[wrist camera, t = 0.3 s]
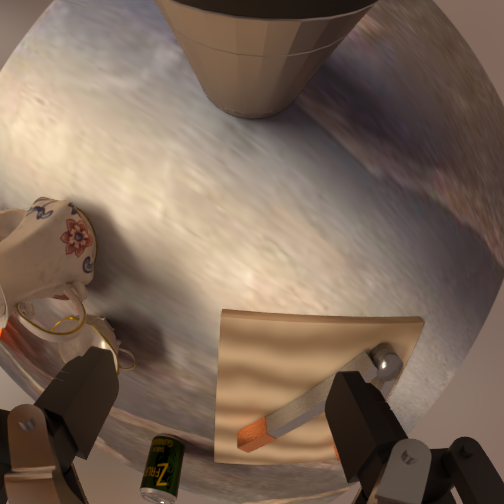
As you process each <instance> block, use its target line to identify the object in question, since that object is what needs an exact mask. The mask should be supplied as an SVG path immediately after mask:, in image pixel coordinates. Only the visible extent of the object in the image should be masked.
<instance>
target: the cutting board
mask: <svg viewBox="0 0 504 504" xmlns="http://www.w3.org/2000/svg"><path fill="white" fill-rule="evenodd" d="M424 323H425V322H424V321H423V320H422V319H421V318H420V317H342V316H313V315H293V314H277V313H263V312H250V311H238V310H227V309H222V313H221V325H220V340H219V357H218V375H217V395H216V418H215V447H214V462H218V463H231V464H295V463H309V462H319V461H328V460H335V459H337V458H336V454H335V451H334V448H333V447H334V446H335V443H334V440H333V437H332V434H331V431H330V428H329V425H328V422H327V419H326V416H325V412H323V413H322V414H320V415H318V416H317V417H315V418H313V419H312V420H310V421H308V422H307V423H305V424H303V425H301V426H300V427H298V428H296V429H294V430H292V431H290V432H288V433H287V434H285V435H283V436H281V437H279V438H277V440H275V441H273V442H271V443H269V444H267V445H265V446H263V447H261V448H258V449H256V450H254V451H252V452H249V453H247V452H244V451H242V450H240V449H238V448H237V431H239V430H241V429H243V428H245V427H246V426H248V425H250V424H252V423H254V422H256V421H258V420H259V419H261V418H263V417H267V416H269V415H270V414H272V413H274V412H276V411H277V410H279V409H281V408H282V407H284V406H286V405H287V404H289V403H291V402H292V401H294V400H295V399H297V398H299V397H300V396H302V395H303V394H305V393H306V392H308V391H309V390H311V389H312V388H314V387H315V386H317V385H318V384H320V383H321V382H323V381H324V380H326V379H327V378H328V377H330V376H331V375H333V374H334V373H335V372H337V371H338V370H340V369H341V368H342V367H344V366H345V365H346V364H348V363H349V362H350V361H352V360H353V359H354V358H355V357H357V356H358V355H359V354H360V353H362V352H363V351H364V350H365V351H366V352H367V353H368V354H369V353H370V352H371V350H372V349H373V348H374V347H376V346H377V345H379V344H382V343H388V344H390V345H391V346H392V348H393V349H394V350H395V352H396V353H397V355H398V356H399V357H400V359H401V360H402V361H403V368H402V370H401V372H400V373H399V374H398V375H397V376H396V379H397V382H398V380H399V378H400V376H401V374H402V372H403V370H404V368H405V366H406V364H407V362H408V360H409V358H410V355H411V353H412V351H413V349H414V347H415V344H416V342H417V340H418V337H419V335H420V333H421V330H422V328H423V325H424ZM370 381H371V380H370ZM370 381H369V382H368V383H370ZM397 382H396V383H395V385H396V384H397ZM395 385H394V387H395ZM394 387H393V389H394ZM393 389H392V391H393ZM392 391H391V393H392ZM391 393H390V394H391ZM390 394H389V396H390ZM389 396H388V398H389ZM388 398H387V400H388ZM387 400H386V402H387Z"/></svg>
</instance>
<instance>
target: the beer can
mask: <svg viewBox="0 0 504 504" xmlns="http://www.w3.org/2000/svg"><path fill="white" fill-rule="evenodd" d="M184 450H185V446H184V444H183V442H182V440H180V439H179V438H178V437H176V436H173V435H170V434H158V435H156V436H155V437H154V438H153V440H152V444H151V447H150V451H149V455H148V459H147V463H146V466H145V470H144V475H143V478H142V483H141V487H140V492H141V494H140V496H141V497H142V498H143V499H145V500H147V501H149V502H152V503H155V504H175V503H174V502H175V501H176V500H177V495H178V488H179V481H180V475H181V468H182V462H183V456H184Z"/></svg>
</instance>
